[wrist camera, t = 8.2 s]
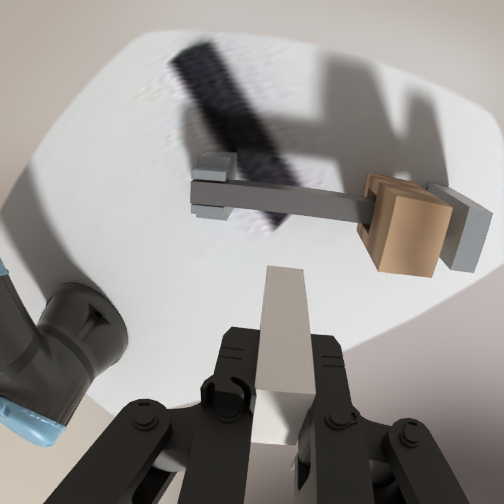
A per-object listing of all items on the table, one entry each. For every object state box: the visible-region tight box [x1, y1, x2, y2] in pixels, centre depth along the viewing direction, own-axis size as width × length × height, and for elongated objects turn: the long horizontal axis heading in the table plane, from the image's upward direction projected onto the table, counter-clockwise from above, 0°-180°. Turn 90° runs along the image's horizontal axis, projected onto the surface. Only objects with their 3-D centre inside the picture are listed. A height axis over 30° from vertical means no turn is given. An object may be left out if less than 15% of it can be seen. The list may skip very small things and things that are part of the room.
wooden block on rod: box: [357, 173, 453, 278], centre depth 24 cm, size 5×6×9 cm
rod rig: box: [190, 151, 493, 273], centre depth 27 cm, size 27×6×9 cm, turn 86°
